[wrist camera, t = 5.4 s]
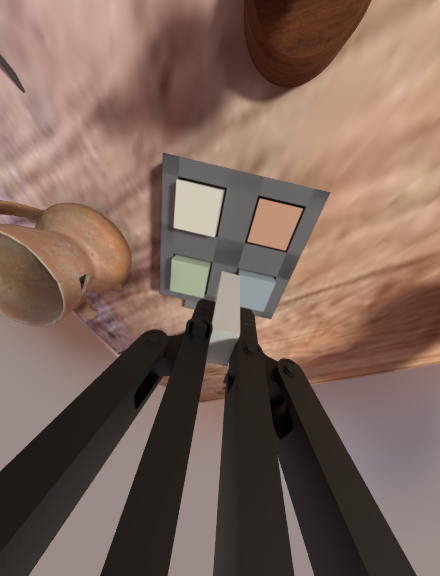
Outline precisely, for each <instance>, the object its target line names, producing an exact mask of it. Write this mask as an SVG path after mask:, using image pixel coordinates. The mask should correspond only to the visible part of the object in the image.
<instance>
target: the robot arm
mask: <svg viewBox="0 0 440 576" xmlns="http://www.w3.org/2000/svg"><path fill="white" fill-rule="evenodd" d="M206 362H210V363H215V364H219V365H224V366H228V363H229V369H228V372H227V374H226V377H225V379H224V382H223V383H226V390H225V406H224V421H223V435H222V450H221V465H220V481H219V495H218V510H217V526H216V541H215V555H214V556H215V557H214V570H213V576H294V570H293V564H292V556H291V549H290V542H289V534H288V527H287V521H286V513H285V506H284V500H283V492H282V485H281V477H280V470H279V463H278V458H279V461H280V464H281V468H282V471H283V474H284V477H285V481H286V484H287V487H288V490H289V494H290V497H291V500H292V504H293V507H294V510H295V513H296V517H297V520H298V523H299V526H300V530H301V533H302V536H303V540H304V543H305V546H306V549H307V552H308V556H309V559H310V562H311V566H312V569H313V572H314V576H416V574H415V572H414V570H413V568H412V567H411V565H410V563H409V561H408V559H407V557H406V556H405V554H404V552H403V550H402V549H401V547H400V545H399V543H398V541H397V540H396V538H395V536H394V534H393V533H392V531H391V529H390V527H389V525H388V523H387V522H386V520H385V518H384V516H383V514H382V513H381V511H380V509H379V507H378V505H377V504H376V502H375V500H374V498H373V496H372V495H371V493H370V491H369V489H368V487H367V486H366V484H365V482H364V480H363V479H362V477H361V475H360V473H359V471H358V470H357V468H356V466H355V464H354V462H353V461H352V459H351V457H350V455H349V454H348V452H347V450H346V448H345V446H344V444H343V443H342V441H341V439H340V437H339V435H338V434H337V432H336V430H335V428H334V427H333V425H332V423H331V421H330V419H329V418H328V416H327V414H326V412H325V410H324V409H323V407H322V405H321V404H320V401H319V400H318V398H317V396H316V394H315V392H314V391H313V389H312V387H311V385H310V383H309V382H308V380H307V378H306V376H305V374H304V373H303V371H302V369H301V368H300V367H299V365H297V364H296V363H295V362H294V361H292V360H290V359H285V358H284V359H280V360H279V361H276V360H274V359H272V358H270V357H268V356H267V355H265V354H264V353H263V351H262V348H261V347H260V346H259V344H258V341H257V332H256V324H255V316H254V314H253V312H252V310H250V309H246V308H242V307H240V275H235V274H231V273H227V272H223V271H222V273H221V277H220V281H219V285H218V289H217V293H216V297H215V301H211V300H206V299H200V300H199V301H198V302H197V305H196V308H195V310H194V313H193V316H192V318H191V319H190V320H188V322H187V324H186V330H185V333H183V334H181V335H178V336H167V334H166V333H165V332H163V331H161V330H149V331H146V332H145V333H143V334H142V335H141V336H140V337H139V338H138V339H137V340H136V341H135V342H134V343H133V344H132V345H131V346H130V347H129V348H128V349H126V350H125V351H124V352H123V353H122V354H121V355H120V356H119V357H118V358H117V359H116V360H115V361H114V362H113V363H112V364H111V365H110V366H109V367H108V368H107V369H106V370H105V371H104V372H103V373H102V374H101V375H100V376H99V377H97V379H95V380H94V381H93V382H92V383H91V384H90V385H89V386H88V387H87V388H86V389H85V390H84V391H83V392H82V393H81V394H80V395H79V396H78V397H77V398H76V399H75V400H74V401H73V402H72V403H71V404H70V405H69V406H67V408H66V409H64V410H63V411H62V412H61V413H60V414H59V415H58V416H57V417H56V418H55V419H54V420H53V421H52V422H51V423H50V424H49V425H48V426H47V427H46V428H45V429H44V430H43V431H42V432H41V433H40V434H39V435H37V436H36V437H35V438H34V439H33V440H32V441H31V442H30V443H29V444H28V445H27V446H26V447H25V448H24V449H23V450H22V451H21V452H20V453H19V454H18V455H17V456H16V457H15V458H14V459H13V460H12V461H11V462H10V463H9V464H8V465H6V466H5V467H4V468H3V469H2V470H1V472H0V576H29V574H30V573H31V571H32V570H33V568H34V567H35V565H36V564H37V562H38V561H39V559H40V558H41V556H42V555H43V553H44V552H45V551H46V549H47V548H48V546H49V545H50V543H51V542H52V540H53V539H54V537H55V536H56V534H57V533H58V531H59V530H60V528H61V527H62V525H63V524H64V522H65V521H66V519H67V518H68V517H69V515H70V514H71V512H72V511H73V509H74V508H75V506H76V505H77V503H78V502H79V500H80V499H81V497H82V496H83V494H84V493H85V491H86V490H87V489H88V487H89V486H90V484H91V482H92V481H93V480H94V478H95V477H96V475H97V474H98V472H99V471H100V469H101V468H102V466H103V465H104V463H105V462H106V460H107V459H108V458H109V456H110V455H111V453H112V451H113V450H114V449H115V447H116V446H117V444H118V443H119V441H120V440H121V438H122V437H123V435H124V434H125V432H126V431H127V429H128V428H129V427H130V425H131V424H132V422H133V421H134V419H135V417H136V416H137V415H138V413H139V412H140V410H141V409H142V407H143V406H144V404H145V403H146V401H147V400H148V398H149V397H150V396H151V394H152V392H153V391H154V390H155V388H156V387H157V385H158V384H159V382H160V381H161V379H162V378H163V376H170V378H169V381H168V384H167V387H166V390H165V392H164V395H163V398H162V401H161V404H160V407H159V410H158V412H157V415H156V418H155V421H154V424H153V427H152V430H151V432H150V436H149V438H148V441H147V444H146V447H145V450H144V452H143V455H142V458H141V461H140V464H139V467H138V470H137V472H136V475H135V478H134V481H133V484H132V487H131V490H130V492H129V495H128V498H127V501H126V504H125V507H124V510H123V512H122V515H121V518H120V521H119V524H118V527H117V529H116V532H115V535H114V538H113V541H112V544H111V546H110V549H109V553H108V555H107V558H106V561H105V564H104V566H103V569H102V572H101V575H100V576H168V570H169V565H170V559H171V553H172V547H173V542H174V537H175V531H176V526H177V520H178V514H179V509H180V503H181V497H182V492H183V487H184V481H185V476H186V470H187V464H188V459H189V453H190V448H191V442H192V437H193V430H194V425H195V420H196V414H197V408H198V403H199V398H200V392H201V387H202V381H203V375H204V370H205V364H206ZM277 455H278V456H277Z"/></svg>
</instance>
